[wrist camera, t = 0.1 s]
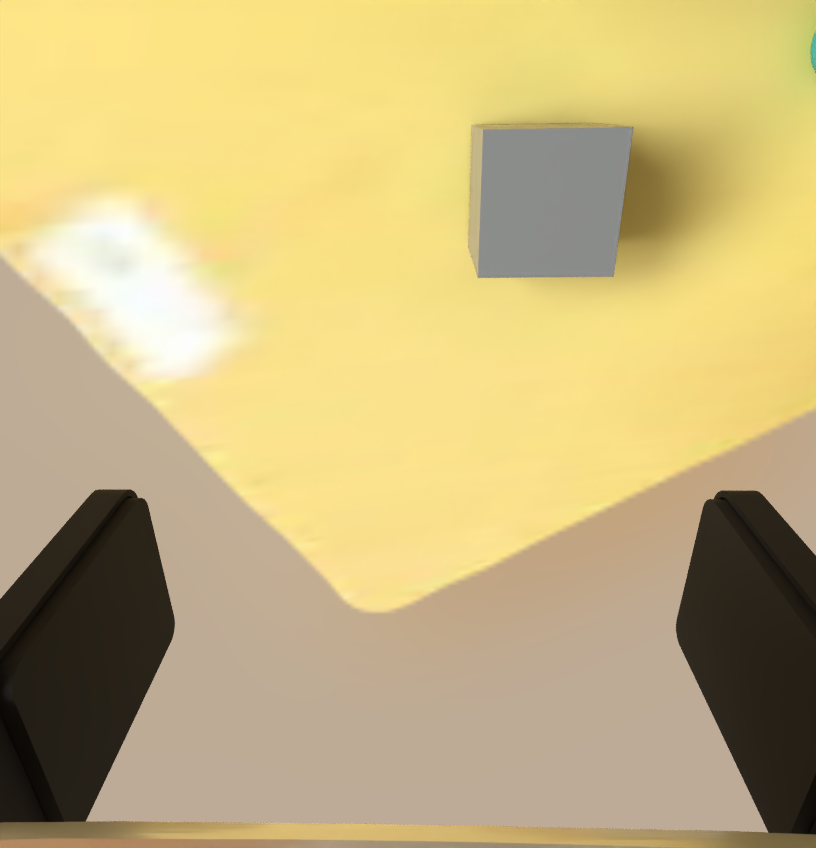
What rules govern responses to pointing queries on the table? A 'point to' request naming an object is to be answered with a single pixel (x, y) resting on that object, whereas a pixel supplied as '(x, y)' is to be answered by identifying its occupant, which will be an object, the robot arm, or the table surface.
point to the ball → (813, 52)
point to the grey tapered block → (547, 198)
